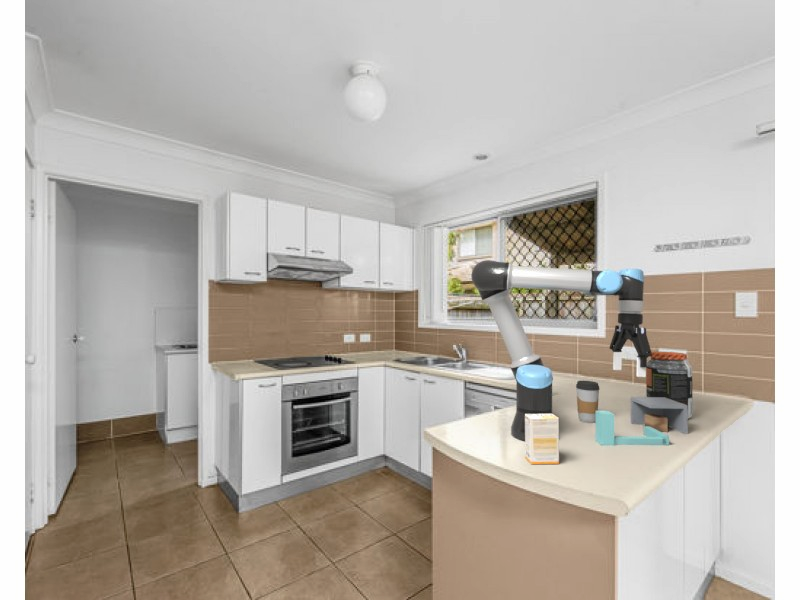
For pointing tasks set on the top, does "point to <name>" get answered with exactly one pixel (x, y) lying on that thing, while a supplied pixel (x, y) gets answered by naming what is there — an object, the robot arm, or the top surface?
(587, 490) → the top surface
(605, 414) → the teal cube-topped l-bracket
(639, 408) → the block
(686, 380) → the supplement tub
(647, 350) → the robot arm
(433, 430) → the top surface
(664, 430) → the block
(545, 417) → the supplement box
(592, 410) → the coffee cup
